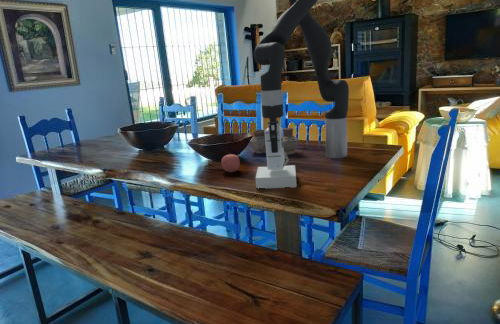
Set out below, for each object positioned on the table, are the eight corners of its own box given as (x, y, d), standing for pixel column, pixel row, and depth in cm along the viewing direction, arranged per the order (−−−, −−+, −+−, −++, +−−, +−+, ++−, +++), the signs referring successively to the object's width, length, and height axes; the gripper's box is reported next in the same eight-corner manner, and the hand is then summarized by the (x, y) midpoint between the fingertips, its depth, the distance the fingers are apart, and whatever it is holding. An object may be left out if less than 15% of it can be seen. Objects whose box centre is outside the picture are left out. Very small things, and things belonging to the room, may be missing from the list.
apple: (233, 175, 147) (232, 155, 145) (219, 173, 151) (217, 154, 149) (243, 170, 153) (242, 151, 151) (229, 168, 157) (227, 150, 155)
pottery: (295, 156, 169) (294, 130, 166) (246, 154, 180) (244, 130, 177) (302, 150, 179) (301, 126, 176) (255, 149, 190) (254, 126, 187)
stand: (258, 176, 142) (258, 166, 141) (295, 175, 141) (294, 165, 140) (256, 188, 129) (255, 177, 128) (296, 187, 128) (295, 176, 127)
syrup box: (283, 169, 130) (281, 129, 127) (266, 170, 132) (264, 130, 128) (285, 165, 136) (282, 126, 132) (269, 165, 137) (266, 127, 133)
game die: (276, 176, 153) (266, 156, 156) (294, 168, 153) (284, 147, 156) (274, 172, 145) (263, 150, 147) (293, 163, 144) (282, 141, 147)
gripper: (262, 101, 135) (265, 146, 139) (260, 106, 121) (263, 155, 126) (283, 100, 134) (285, 145, 139) (282, 104, 120) (285, 154, 125)
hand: (275, 150), depth 132 cm, fingers closed on syrup box, 6 cm apart
